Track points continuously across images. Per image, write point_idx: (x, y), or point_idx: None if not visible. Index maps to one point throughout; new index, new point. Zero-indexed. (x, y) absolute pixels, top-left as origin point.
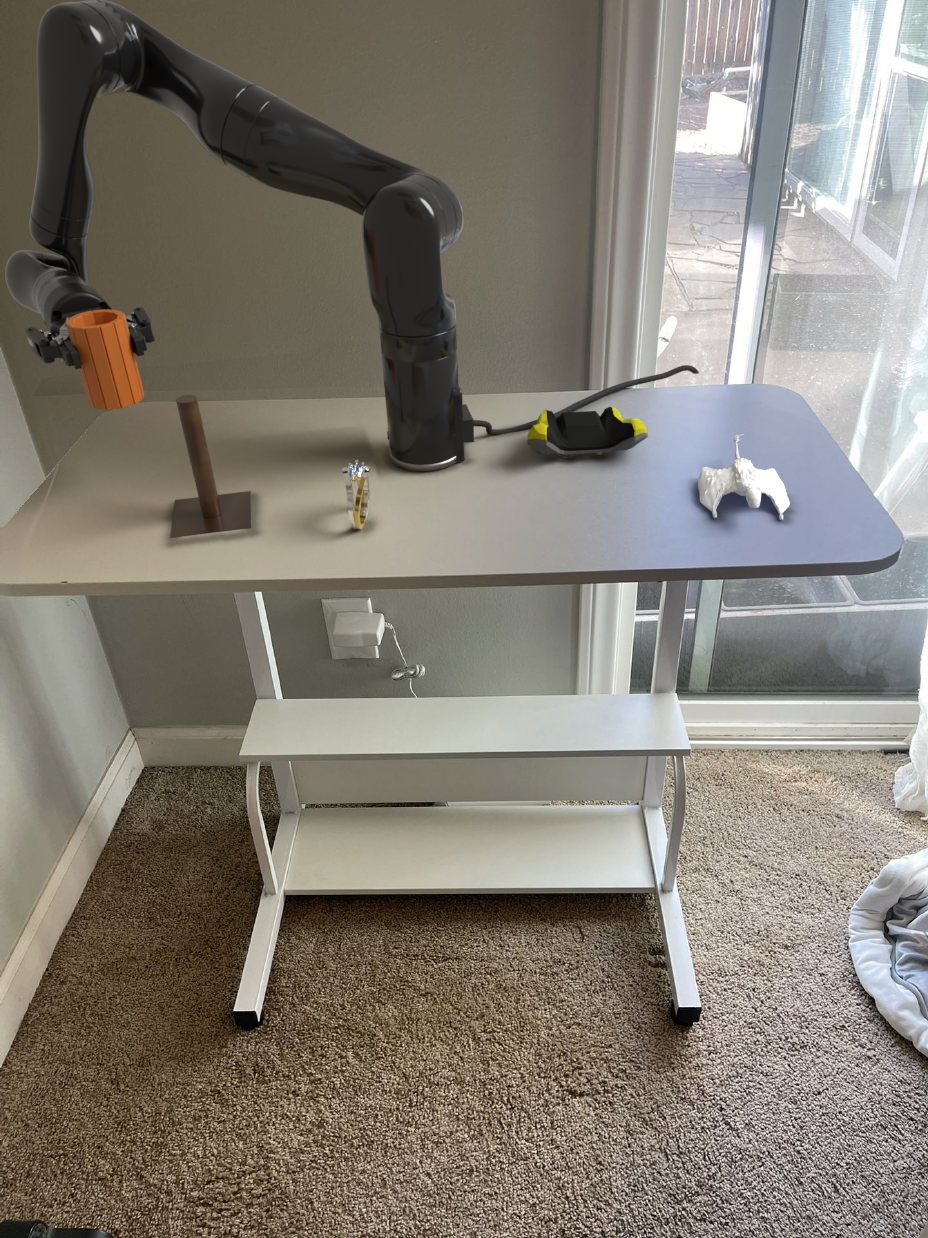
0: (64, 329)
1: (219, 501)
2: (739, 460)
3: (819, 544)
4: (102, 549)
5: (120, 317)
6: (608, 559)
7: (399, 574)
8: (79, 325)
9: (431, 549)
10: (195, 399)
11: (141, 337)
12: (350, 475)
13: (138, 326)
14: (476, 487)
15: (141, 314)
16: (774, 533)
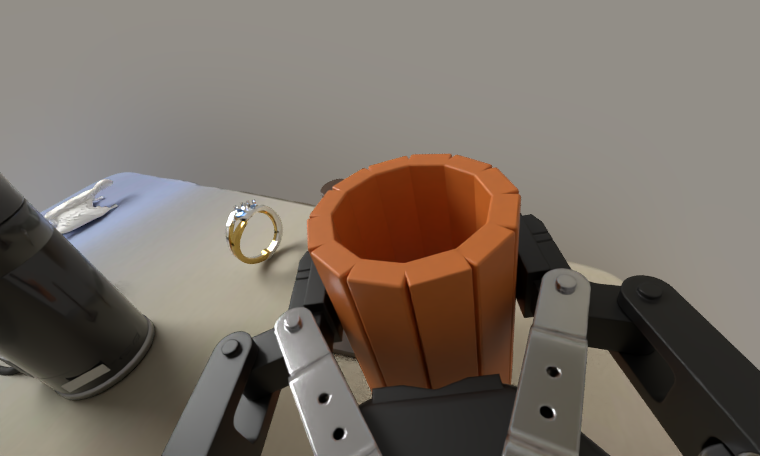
0: (561, 335)
1: None
2: (50, 213)
3: (121, 182)
4: (516, 303)
5: (333, 195)
6: (194, 191)
7: (292, 204)
8: (467, 170)
9: (255, 220)
10: (326, 183)
11: (309, 257)
12: (254, 205)
13: (267, 354)
14: (152, 279)
15: (189, 443)
16: (120, 191)
